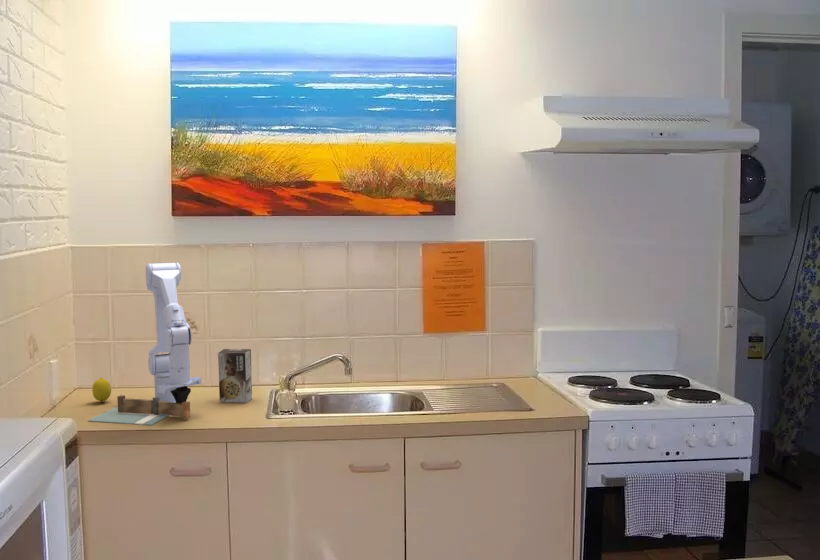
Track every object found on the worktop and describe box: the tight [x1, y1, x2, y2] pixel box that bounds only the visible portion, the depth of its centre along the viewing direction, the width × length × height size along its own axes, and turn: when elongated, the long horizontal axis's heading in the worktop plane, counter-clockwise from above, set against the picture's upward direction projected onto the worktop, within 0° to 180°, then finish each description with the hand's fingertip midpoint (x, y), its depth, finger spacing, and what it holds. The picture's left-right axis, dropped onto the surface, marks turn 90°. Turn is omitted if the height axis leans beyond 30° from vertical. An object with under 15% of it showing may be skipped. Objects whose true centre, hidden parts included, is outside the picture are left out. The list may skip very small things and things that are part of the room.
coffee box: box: [217, 348, 253, 404], centre depth 255 cm, size 9×6×16 cm
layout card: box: [87, 406, 171, 426], centre depth 240 cm, size 20×20×1 cm
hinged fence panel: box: [158, 400, 191, 419], centre depth 235 cm, size 11×2×4 cm, turn 64°
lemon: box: [91, 377, 112, 403], centre depth 252 cm, size 6×6×8 cm
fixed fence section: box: [116, 394, 160, 415], centre depth 239 cm, size 13×2×5 cm, turn 79°
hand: (181, 412), depth 236 cm, fingers closed, pressing on hinged fence panel
